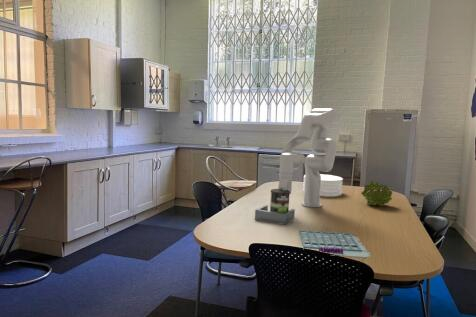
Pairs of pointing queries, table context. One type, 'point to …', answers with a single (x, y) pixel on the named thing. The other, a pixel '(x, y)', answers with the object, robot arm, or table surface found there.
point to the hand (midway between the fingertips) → (284, 207)
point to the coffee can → (279, 201)
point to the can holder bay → (273, 215)
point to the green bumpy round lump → (377, 194)
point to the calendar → (334, 243)
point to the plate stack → (329, 185)
